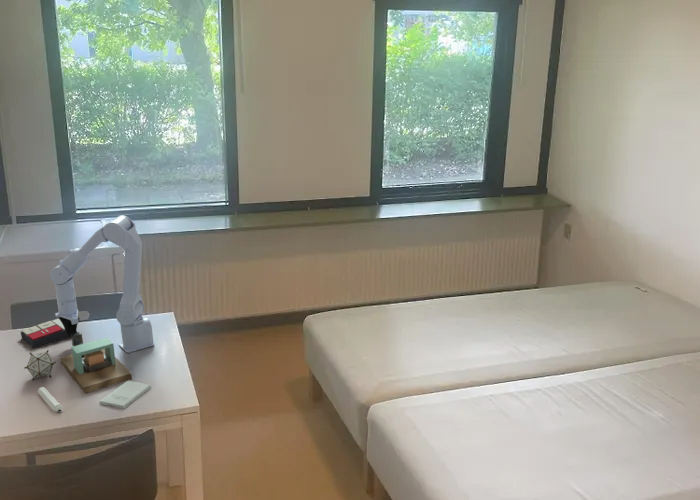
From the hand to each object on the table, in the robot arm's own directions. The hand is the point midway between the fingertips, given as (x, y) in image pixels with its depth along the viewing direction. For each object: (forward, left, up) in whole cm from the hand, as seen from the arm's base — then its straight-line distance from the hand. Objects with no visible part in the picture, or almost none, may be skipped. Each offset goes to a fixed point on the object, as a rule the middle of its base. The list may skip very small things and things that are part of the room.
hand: (71, 336), depth 226 cm
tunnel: (0, +24, -1) cm, 24 cm away
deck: (0, +24, -3) cm, 24 cm away
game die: (+14, +17, -3) cm, 22 cm away
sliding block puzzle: (+4, -12, -4) cm, 13 cm away
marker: (+16, +35, -4) cm, 39 cm away
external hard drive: (-2, +44, -4) cm, 44 cm away
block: (0, +24, -1) cm, 24 cm away
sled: (0, +16, -1) cm, 16 cm away
